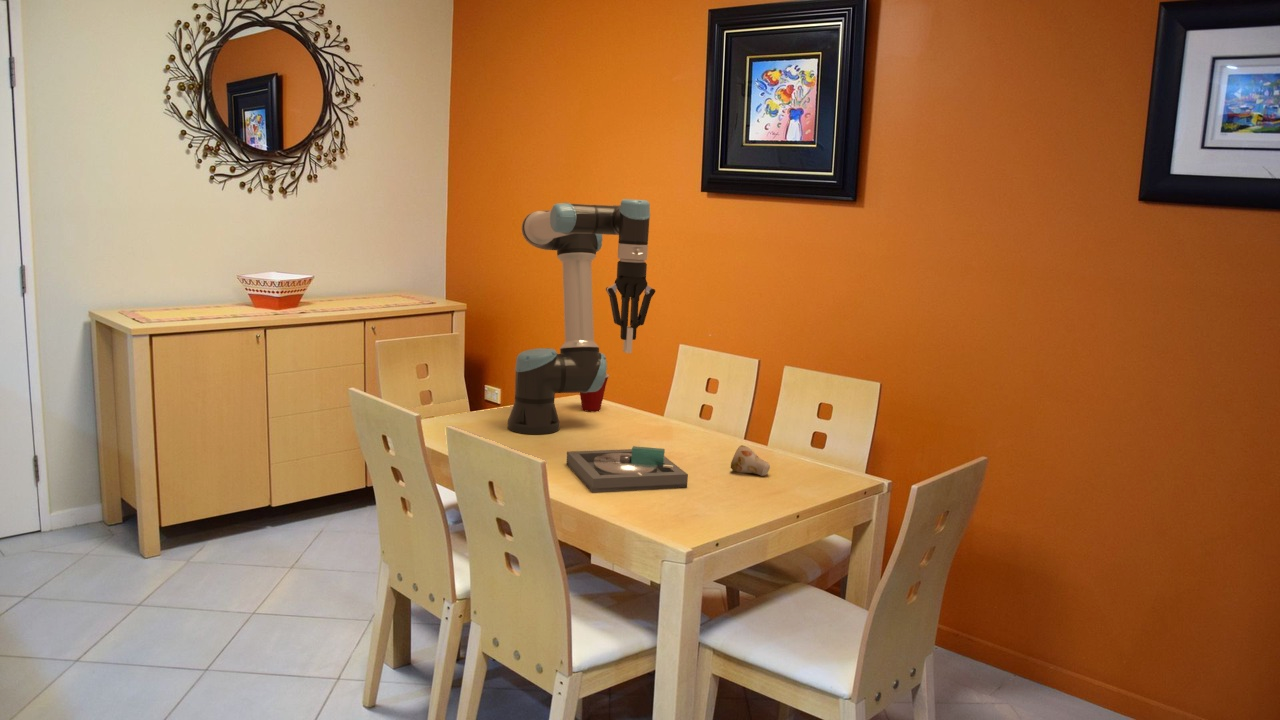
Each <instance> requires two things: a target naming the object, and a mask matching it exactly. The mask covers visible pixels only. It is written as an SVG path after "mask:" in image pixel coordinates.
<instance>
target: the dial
mask: <svg viewBox="0 0 1280 720" xmlns="http://www.w3.org/2000/svg"><path fill="white" fill-rule="evenodd" d="M631 449H632V453H609V454H603V455H600V456H597V457H596V458H595V459H594V467H593V468H594V469H595V470H596V471H597V472H598V473H599V474H600V475H616V474H637V473H657V465H661V466H663V465H664V456H665V452H666V451H665V450H666V449H665V448H660V447H659V448H658V447H646V446H634V445H633V446H632V447H631Z"/></svg>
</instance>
